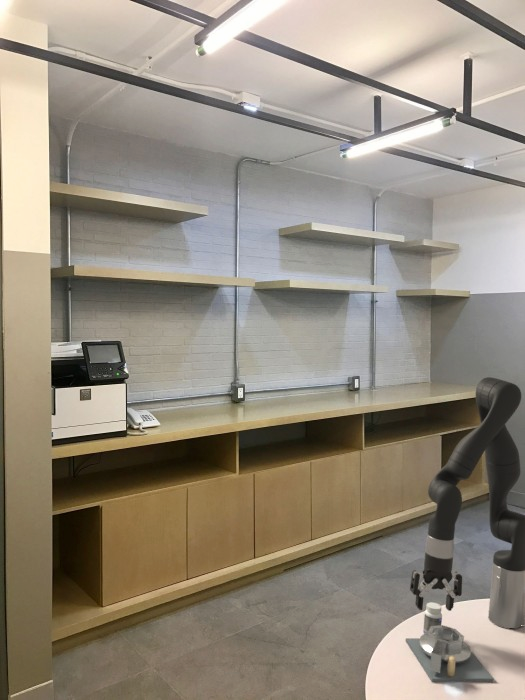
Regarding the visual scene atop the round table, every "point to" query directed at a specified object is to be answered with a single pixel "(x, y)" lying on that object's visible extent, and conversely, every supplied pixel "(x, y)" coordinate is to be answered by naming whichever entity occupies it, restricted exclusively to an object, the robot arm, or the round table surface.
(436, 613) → the pill bottle
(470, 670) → the slate board
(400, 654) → the round table surface
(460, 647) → the handled bowl
